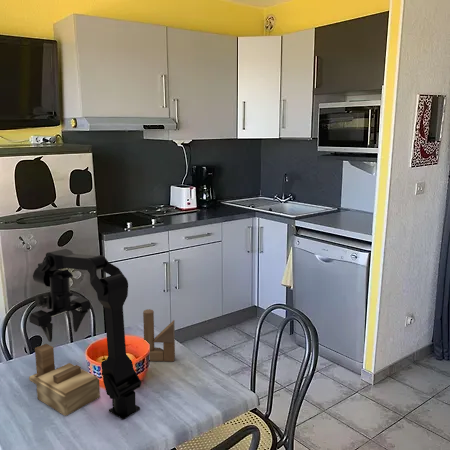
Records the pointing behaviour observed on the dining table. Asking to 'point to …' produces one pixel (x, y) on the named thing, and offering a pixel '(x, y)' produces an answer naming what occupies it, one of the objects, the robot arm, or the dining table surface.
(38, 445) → the dining table surface
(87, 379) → the lid
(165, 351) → the wooden block
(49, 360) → the brown block
